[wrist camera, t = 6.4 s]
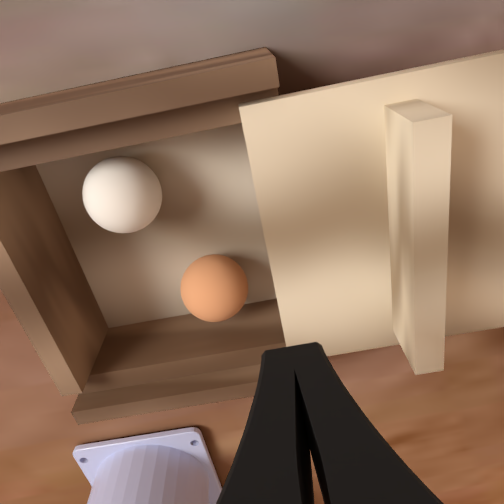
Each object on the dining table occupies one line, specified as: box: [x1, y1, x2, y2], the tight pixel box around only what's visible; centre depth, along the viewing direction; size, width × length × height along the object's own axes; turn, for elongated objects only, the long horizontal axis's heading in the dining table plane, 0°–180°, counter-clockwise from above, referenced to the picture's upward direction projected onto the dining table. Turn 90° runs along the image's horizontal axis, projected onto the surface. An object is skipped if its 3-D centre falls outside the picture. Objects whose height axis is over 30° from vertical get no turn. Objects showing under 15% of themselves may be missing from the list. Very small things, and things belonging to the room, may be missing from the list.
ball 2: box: [180, 254, 248, 322], centre depth 19 cm, size 3×3×3 cm
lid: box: [239, 49, 504, 375], centre depth 15 cm, size 11×10×3 cm
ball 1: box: [82, 156, 162, 233], centre depth 17 cm, size 3×3×3 cm
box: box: [0, 47, 286, 425], centre depth 18 cm, size 13×11×5 cm
